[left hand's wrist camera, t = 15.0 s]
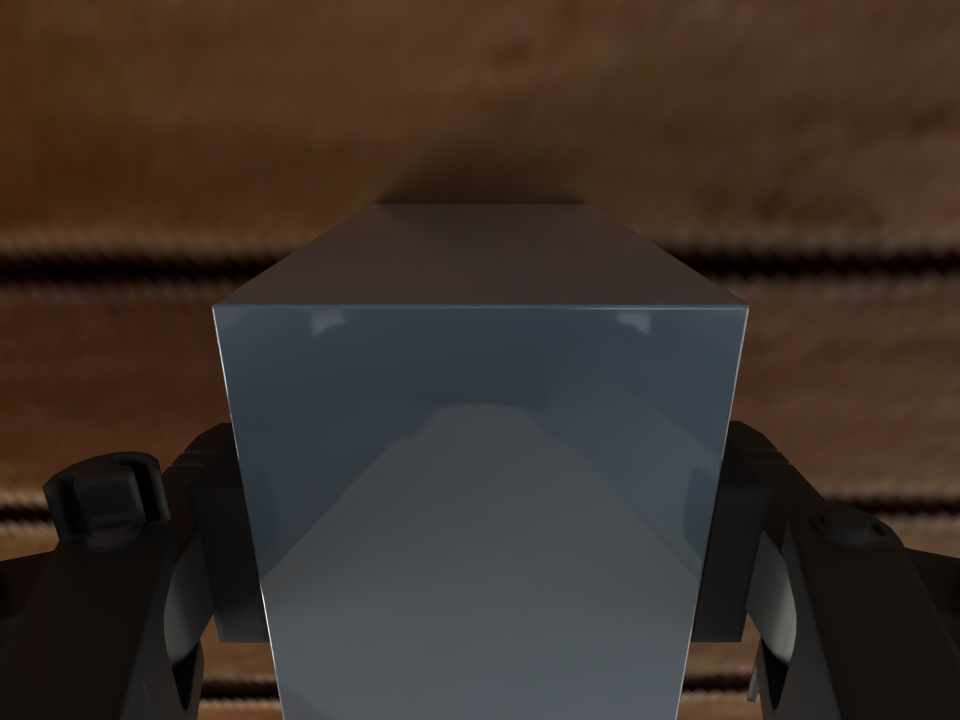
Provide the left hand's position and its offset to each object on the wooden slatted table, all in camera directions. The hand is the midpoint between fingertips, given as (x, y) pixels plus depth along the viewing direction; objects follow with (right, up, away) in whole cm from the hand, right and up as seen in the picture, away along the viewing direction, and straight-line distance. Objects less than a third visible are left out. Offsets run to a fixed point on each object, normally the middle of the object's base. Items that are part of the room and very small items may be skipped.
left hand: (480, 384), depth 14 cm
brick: (0, +1, +3) cm, 4 cm away
